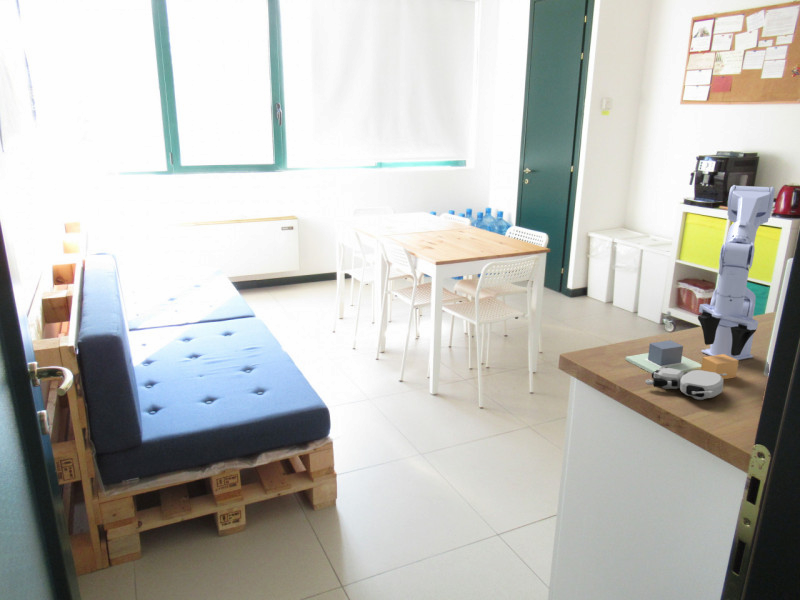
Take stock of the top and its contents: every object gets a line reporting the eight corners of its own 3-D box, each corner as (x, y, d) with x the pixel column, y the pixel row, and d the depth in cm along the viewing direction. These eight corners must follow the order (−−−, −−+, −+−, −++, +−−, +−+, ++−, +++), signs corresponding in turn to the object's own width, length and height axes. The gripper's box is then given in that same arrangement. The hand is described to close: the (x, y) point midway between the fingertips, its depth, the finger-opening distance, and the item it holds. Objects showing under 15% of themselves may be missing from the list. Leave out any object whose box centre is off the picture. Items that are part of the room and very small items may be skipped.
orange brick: (721, 370, 146) (723, 354, 145) (735, 377, 142) (738, 360, 141) (700, 374, 144) (702, 357, 143) (714, 381, 140) (717, 363, 139)
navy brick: (668, 356, 153) (670, 340, 151) (681, 362, 149) (683, 346, 147) (647, 359, 151) (649, 343, 149) (660, 365, 147) (662, 349, 145)
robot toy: (642, 394, 136) (714, 409, 126) (642, 376, 135) (715, 389, 125) (659, 377, 145) (728, 390, 135) (660, 360, 144) (729, 371, 134)
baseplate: (668, 352, 158) (668, 349, 157) (704, 369, 147) (705, 365, 147) (625, 359, 153) (625, 356, 153) (659, 377, 142) (660, 374, 142)
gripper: (692, 288, 143) (685, 341, 146) (744, 304, 130) (735, 362, 133) (714, 285, 145) (707, 337, 149) (768, 301, 132) (758, 358, 136)
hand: (722, 349), depth 141 cm, fingers open, 7 cm apart
